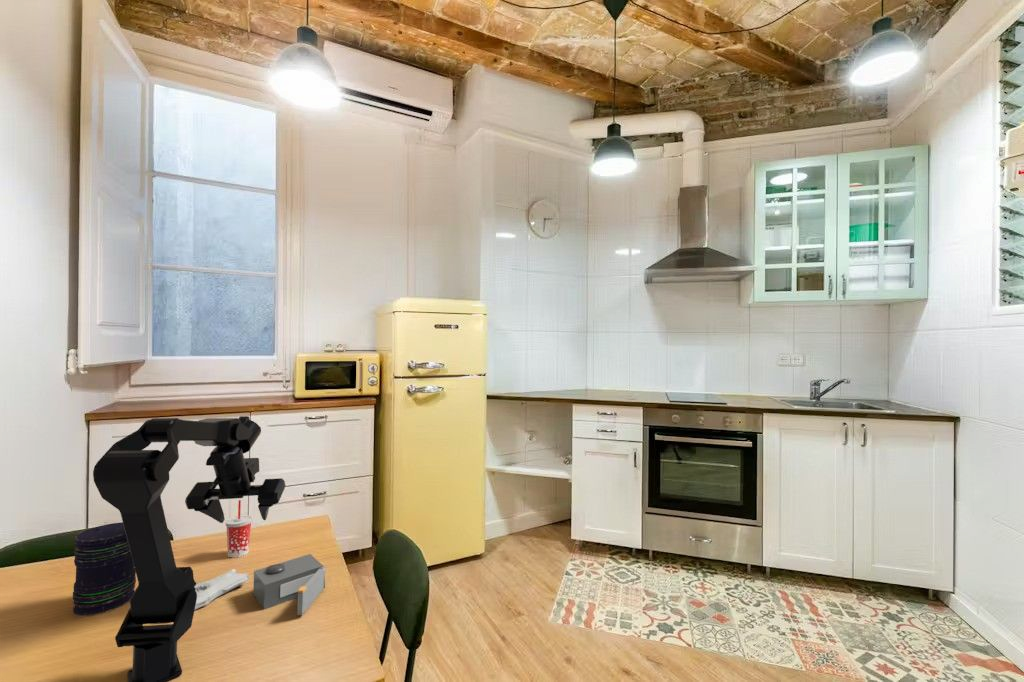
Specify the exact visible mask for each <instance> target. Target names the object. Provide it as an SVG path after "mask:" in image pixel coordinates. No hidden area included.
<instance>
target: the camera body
mask: <svg viewBox="0 0 1024 682" xmlns="http://www.w3.org/2000/svg"><path fill="white" fill-rule="evenodd" d="M323 566H324V565H323V564H322V563H321V562H320V561H319V560H317V558H316V557H314V556H313V555H312V554H310V553H308V554H306V555H302V556H298V557H296V558H292V559H289V560H286V561H285V560H284V561H282V562H280V563H276V564H275V563H274V564H271V565H269V566H265V567H263V568H259V569H256V570H253V595H254V597H255V598H256V600H257V601H258V603H259V604H260V606H262V608H263V609H264V610H267V609H269V608H272V607H274V606H277V605H280V604H283V603H285V602H288V601H291V600H293V599H296V598H297V599H298V590H299V588H300V587H301V586H304V585H305V584H306V583H307V582H308V581H309V580H310V578H311V577H312V576H313V575H314V574H315V573H316V572H317V571H318V570H319V569H320V567H323Z"/></svg>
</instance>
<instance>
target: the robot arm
mask: <svg viewBox="0 0 1024 682" xmlns="http://www.w3.org/2000/svg"><path fill="white" fill-rule="evenodd" d="M261 433H262V428H261V426H260V425H259V424H258V423H257V422H255V421H254V420H251V419H250V416H249V415H248V416H246V415H245V416H243V415H242V416H241V415H240V416H239V417H230V418H229V417H227V418H226V417H224V418H223V417H219V418H218V417H214V418H213V417H212V418H211V417H209V418H203V419H200V420H199V419H198V420H189V419H180V418H179V417H153V418H151V419H147V420H145V421H144V422H143V424H142V425H141V426H140V427H139V428H138V429H137V430H135V431H133V432H132V433H130V434H129V435H126V436H125V437H123V438H122V439H120V440H118V441H115V442H114V444H112V445H111V447H110V448H108V450H107V451H106V452H105V453H104V454H103V455H102V456H101V458H100V459H98V460H97V462H96V463H95V465H94V467H93V470H92V478H93V483H94V484H95V487H96V488H97V491H98V492H99V494H100V497H101V498H102V499H103V500H104V501H106V502H107V503H108V504H109V505H111V506H112V507H114V508H115V509H117V510H118V511H119V514H120V516H121V521H122V522H123V525H124V529H125V533H126V536H127V540H128V544H129V548H130V552H131V556H132V560H133V563H134V568H135V571H136V575H135V576H136V580H137V584H138V585H137V587H136V588H135V589H134V590H135V592H134V594H133V595H132V597H131V599H130V601H129V609H128V611H127V613H126V615H125V617H124V619H123V621H122V623H121V625H120V627H119V629H118V632H117V633H116V636H115V639H114V640H115V642H116V646H117V648H123V647H132V669H129V670H128V671H127V675H126V676H127V681H128V682H167V681H170V680H172V679H174V678H177V677H179V676H181V675H182V674H183V669H182V666H181V663H180V659H179V657H178V641H179V640H180V639H181V638H182V637H183V636H184V635H185V634H186V633H187V632H188V631H189V630H190V629H191V627H192V625H193V619H194V614H195V611H196V610H195V605H196V600H197V593H196V591H195V587H194V586H196V584H197V582H196V581H195V579H194V570H193V569H192V567H191V566H178V567H177V565H176V561H175V560H176V559H175V556H174V551H173V547H172V543H171V538H170V534H169V529H168V525H167V521H166V520H167V519H166V516H165V511H164V507H163V502H162V498H161V497H162V496H161V495H162V494H163V492H164V490H165V488H166V487H167V485H168V482H169V481H170V471H172V468H173V467H174V466H175V465H176V463H177V462H178V461H179V458H180V453H179V447H178V446H179V444H180V443H181V442H189V441H190V442H194V443H195V445H199V446H202V447H214V448H213V449H212V451H211V452H210V453H209V456H208V458H207V459H206V461H205V465H206V466H209V467H210V466H213V470H214V473H215V477H216V478H215V479H214V480H213V481H198V482H196V483H195V484H194V485H193V487H192V488H191V490H190V491H189V493H188V494H187V495H186V497H185V500H184V503H185V505H186V509H187V510H194V512H200V513H201V514H204V515H206V516H208V517H210V518H212V519H213V520H215V521H216V522H218V523H220V524H223V523H224V522H225V521H226V520H225V513H224V510H223V507H222V504H221V501H220V500H230V499H243V498H244V497H246V496H247V497H251V496H252V497H253V496H257V502H258V505H257V507H258V511H259V513H260V516H261V518H262V520H263V521H266V520H267V518H268V515H269V510H270V507H271V508H272V507H273V506H274V505H277V504H278V503H280V500H281V498H282V495H283V493H284V491H285V488H286V482H285V480H284V478H281V477H279V478H265V479H264V481H263V483H262V484H255V485H254V484H253V485H251V483H254V482H255V480H256V476H255V475H256V474H257V473H259V472H260V458H259V457H246V458H245V456H244V454H246V453H248V452H250V450H251V448H253V446H254V444H255V443H256V441H257V440H258V438H259V436H260V435H261ZM152 443H167V444H166V445H165V446H164V448H163V449H162V450H159V449H146V448H148V447H149V446H150V445H151V444H152ZM217 486H218V488H217ZM167 623H168V624H167ZM169 623H170V624H169ZM151 624H152V625H151Z"/></svg>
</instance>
